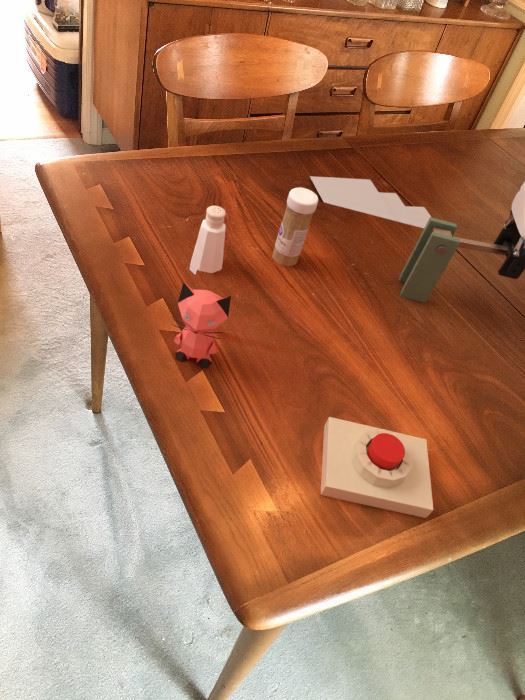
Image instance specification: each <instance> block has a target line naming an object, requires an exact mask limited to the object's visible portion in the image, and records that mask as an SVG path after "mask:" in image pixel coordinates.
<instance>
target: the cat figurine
mask: <svg viewBox="0 0 525 700" xmlns="http://www.w3.org/2000/svg"><path fill="white" fill-rule="evenodd" d="M231 299H232V295H229V296H226V297H222V296H220V295H218V294H216V292H213V291H211V290H209V289H195V288H192V287H191V286H189V284H187V283H186V282H184V281H183V283H182V286H181V290H180V293H179V297H178V300H177V305H178V309H179V312H180V313H179V314H180V315H181V319H182V322H180V321H178V320H177V319H176V318H174V317H173V316H170V317H171V318H172V320H174V321H175V322H177V323H179V324H180V325H181V326H183V327H184V328H183V327H181V326H178V325H175V324H172V323H171V322H170V324H171V325H172V326H173V327H175V328H178V329H181V330H182V331H181V332H177V333H176V334H175V337H174V340H173V343H175V345H176V346H179V345H180V348H179V349H178V350H176V351H175V353H174V354H175V355H174V357H175V360H177V361H179V362H181V363H182V362H186V361H189V360H190V359H196V363H197V365H198V366H199V367H200V368H203V369H208V368H209V367H211V365H212V364H213V362H212V359H211V355H215V354H217V351H218V344H217V343H216V340H215V339H218V340H223V338H219V337H217V336H214V334H223V331H220V332H219V331H216V332H215V330H216V329H218V328H219V327H220V326H221V325H223V324H224V323H225V322H226V320H228V319H229V314H230V307H231Z"/></svg>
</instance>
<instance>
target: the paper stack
mask: <svg viewBox="0 0 525 700" xmlns="http://www.w3.org/2000/svg"><path fill="white" fill-rule="evenodd" d="M309 178H310V180H311V182H312V184H313V185H314V187H315V189H316V191H317V193H318V194H319V196H320V198H321V200H322V201H323V203H324V204H328V205H332V206H337V207H340V208H344V209H348V210H351V211H356V212H360V213H363V214H367V215H370V216H375V217H379V218H383V219H386V220H391V221H393V222H398V223H402V224H405V225H408V226H414V227H417V228H421V229H424V228H425V226H426V224H427V222H428V220H429V218H430V217H432V215H431V214H430V212H428V210H427V208H426V207H425V206H410V205H409V206H408V205H405V204H404V202H403V201H402V200H401V198H400V196H399V195H398V194H397V192H380V191H378V188H377V187H376V186H375V184H374V183H373V181H372V180H371V179H366V178H349V177H348V178H347V177H332V176H331V177H330V176H329V177H328V176H312V175H309Z"/></svg>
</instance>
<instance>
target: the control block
mask: <svg viewBox="0 0 525 700" xmlns="http://www.w3.org/2000/svg"><path fill="white" fill-rule="evenodd" d="M381 433H388V434H391V435H393V436H395V437H397V438H398V439H399V440H400V441H401V442H402V444H403V446H404V448H405V456H404V458H403V459H402V460H401V462H400V463H399V464H398V466H397V467H396V468H394V469H391V470H385V469H381V468H379V467H377V466H376V465H375V464H374V463H373V462H372V461H371V460H370V458H369V456H368V447H369V445H370V443H371V442H372V440H373V439H374V437H375V436H376V435H378V434H381ZM322 443H323V444H322V459H321V479H320V496H323V497H328V498H332V499H336V500H342V501H346V502H350V503H354V504H358V505H364V506H368V507H373V508H378V509H382V510H387V511H390V512H396V513H401V514H406V515H410V516H413V515H414V517H418V518H423V519H427V518H428V517H429V516H430V514H432V512H433V511H434V499H433V492H432V490H433V489H432V481H431V472H430V460H429V453H428V451H429V450H428V441H427V439H426V438H422V437H418V436H414V435H410V434H405V433H401V432H397V431H393V430H388V429H384V428H380V427H376V426H371V425H368V424H367V425H366V424H362V423H359V422H354V421H349V420H345V419H341V418H336V417H332V416H329V417H328V418H327V420H326V421H325V424H324V426H323V441H322Z"/></svg>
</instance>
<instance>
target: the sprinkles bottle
mask: <svg viewBox="0 0 525 700" xmlns="http://www.w3.org/2000/svg"><path fill="white" fill-rule="evenodd" d="M318 203H319V197H318V195H317V194H316V193H315V192H314V191H312V190H311V189H308V188H306V187H294V188H292V189H290V190H289V193H288V195H287V199H286V208H285V211H284V214H283V218H282V221H281V223H280V227H279V230H278V232H277V236H276V240H275V244H274V248H273V250H272V251H273V252H272V255H271V256H272V259H273V261H274V262H275V263H277V264H278V265H280V266H283V267H294V266H295V265H296V264H297V263H298V261H299V257H300V254H301V252H302V249H303V247H304V244H305V240H306V237H307V234H308V232H309V228H310V224H311V221H312V218H313V215H314V213H315V212H316V210H317V207H318Z"/></svg>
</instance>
